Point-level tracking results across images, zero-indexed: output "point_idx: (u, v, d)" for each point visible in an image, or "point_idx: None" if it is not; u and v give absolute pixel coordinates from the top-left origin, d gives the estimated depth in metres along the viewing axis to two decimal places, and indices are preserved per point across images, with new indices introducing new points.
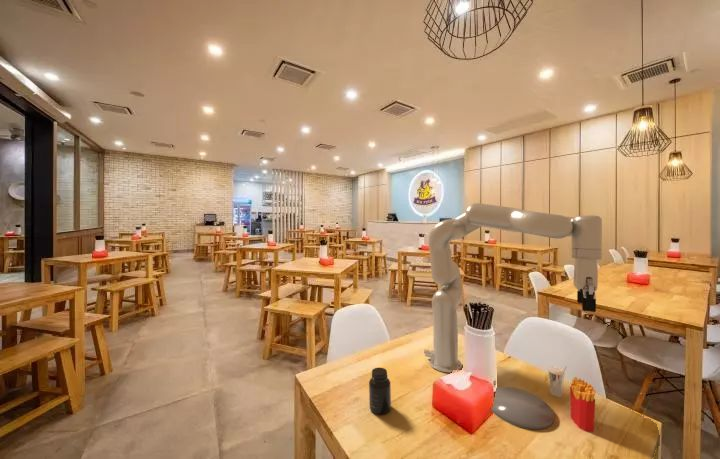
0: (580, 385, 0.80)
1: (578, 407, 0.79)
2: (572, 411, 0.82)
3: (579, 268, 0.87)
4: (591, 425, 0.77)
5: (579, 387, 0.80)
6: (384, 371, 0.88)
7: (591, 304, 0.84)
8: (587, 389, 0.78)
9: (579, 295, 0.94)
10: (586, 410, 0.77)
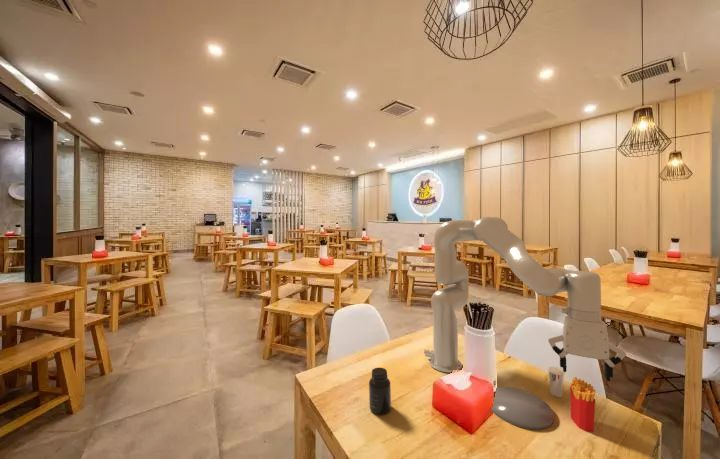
0: (580, 385, 0.80)
1: (578, 407, 0.79)
2: (572, 411, 0.82)
3: (606, 335, 0.76)
4: (591, 425, 0.77)
5: (579, 387, 0.80)
6: (384, 371, 0.88)
7: None
8: (587, 389, 0.78)
9: None
10: (586, 410, 0.77)
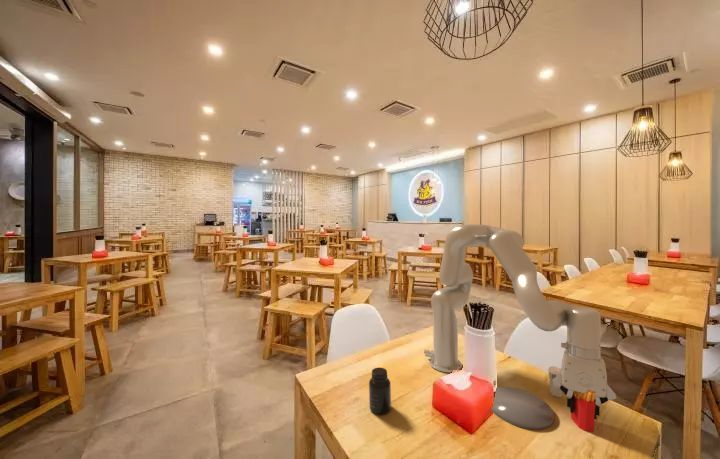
0: None
1: (578, 407, 0.79)
2: None
3: (604, 373, 0.76)
4: (591, 425, 0.77)
5: None
6: (384, 371, 0.88)
7: None
8: None
9: (573, 403, 0.81)
10: (587, 410, 0.77)
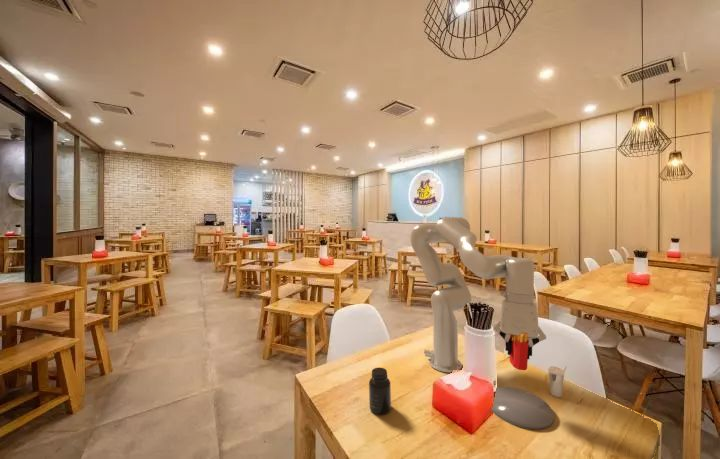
0: None
1: (514, 349, 0.86)
2: (510, 354, 0.89)
3: (535, 315, 0.83)
4: (524, 364, 0.84)
5: None
6: (384, 371, 0.88)
7: None
8: None
9: (510, 346, 0.88)
10: (520, 350, 0.84)
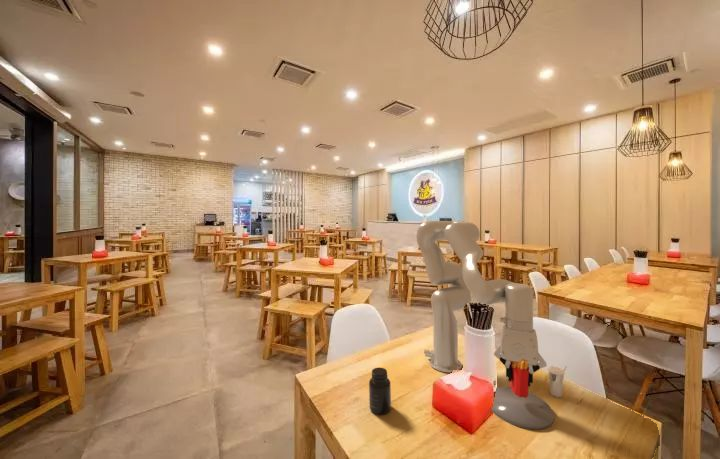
0: None
1: (514, 375, 0.86)
2: (511, 380, 0.89)
3: (535, 342, 0.83)
4: (525, 391, 0.84)
5: None
6: (384, 371, 0.88)
7: (532, 376, 0.86)
8: None
9: (510, 373, 0.87)
10: (520, 377, 0.84)
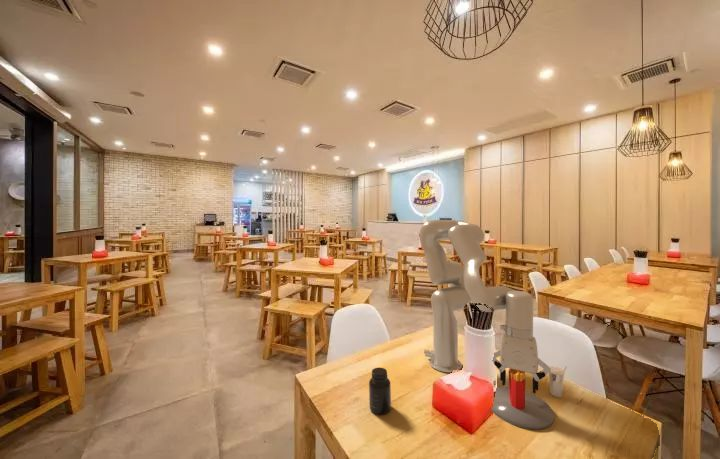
0: None
1: (511, 387, 0.87)
2: (509, 391, 0.90)
3: (535, 351, 0.83)
4: (521, 403, 0.85)
5: (513, 369, 0.87)
6: (384, 371, 0.88)
7: None
8: (517, 370, 0.85)
9: (504, 377, 0.88)
10: (516, 389, 0.85)
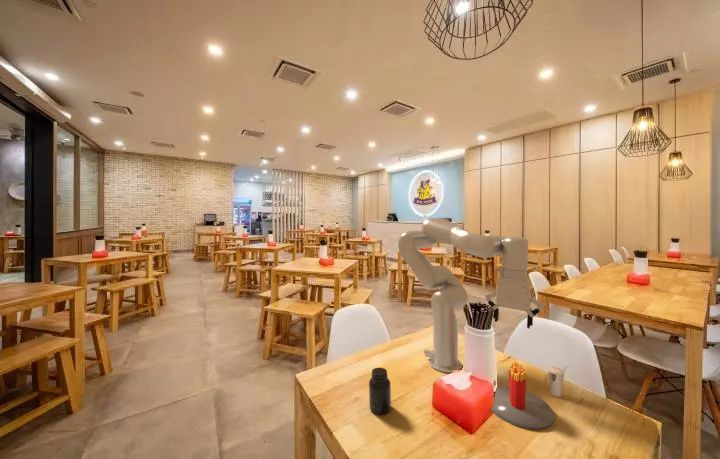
0: (514, 367, 0.87)
1: (511, 387, 0.87)
2: (509, 391, 0.90)
3: (528, 289, 0.90)
4: (521, 403, 0.85)
5: (513, 369, 0.87)
6: (384, 371, 0.88)
7: (532, 320, 0.92)
8: (518, 370, 0.85)
9: (497, 314, 0.96)
10: (516, 389, 0.85)
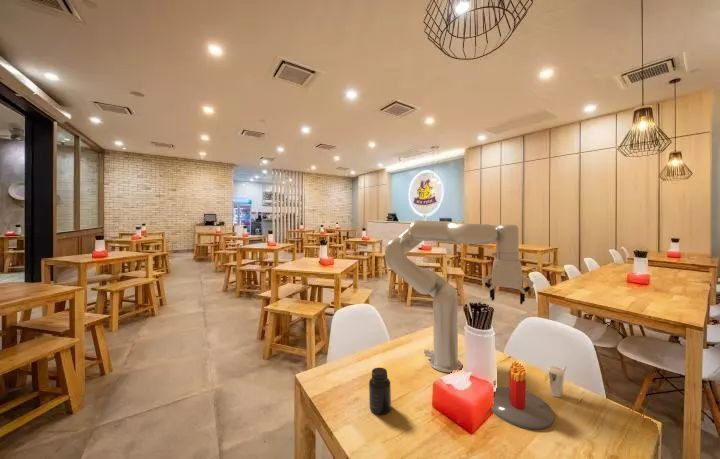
0: (514, 367, 0.87)
1: (511, 387, 0.87)
2: (509, 391, 0.90)
3: (520, 269, 1.02)
4: (521, 403, 0.85)
5: (513, 369, 0.87)
6: (384, 371, 0.88)
7: (524, 297, 1.04)
8: (518, 370, 0.85)
9: (493, 293, 1.08)
10: (516, 389, 0.85)
